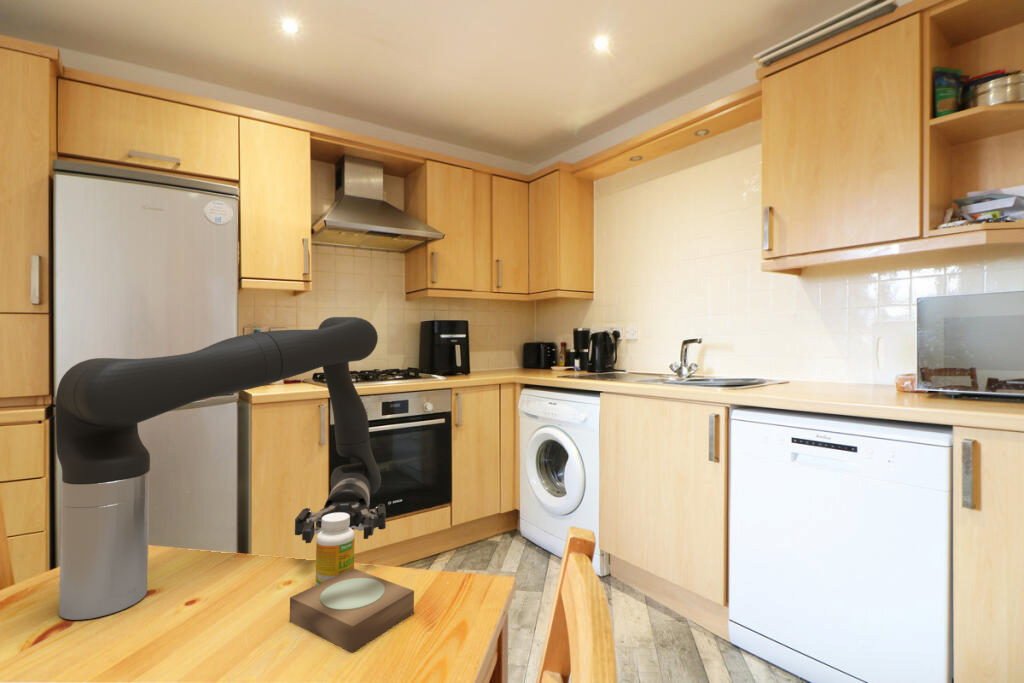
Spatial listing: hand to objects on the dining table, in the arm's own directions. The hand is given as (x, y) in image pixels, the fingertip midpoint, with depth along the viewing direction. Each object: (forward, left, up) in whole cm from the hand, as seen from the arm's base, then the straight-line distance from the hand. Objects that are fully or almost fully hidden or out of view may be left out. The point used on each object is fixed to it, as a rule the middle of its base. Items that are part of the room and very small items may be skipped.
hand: (337, 534), depth 75 cm
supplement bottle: (+2, -2, -6) cm, 7 cm away
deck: (+12, -7, -6) cm, 15 cm away
